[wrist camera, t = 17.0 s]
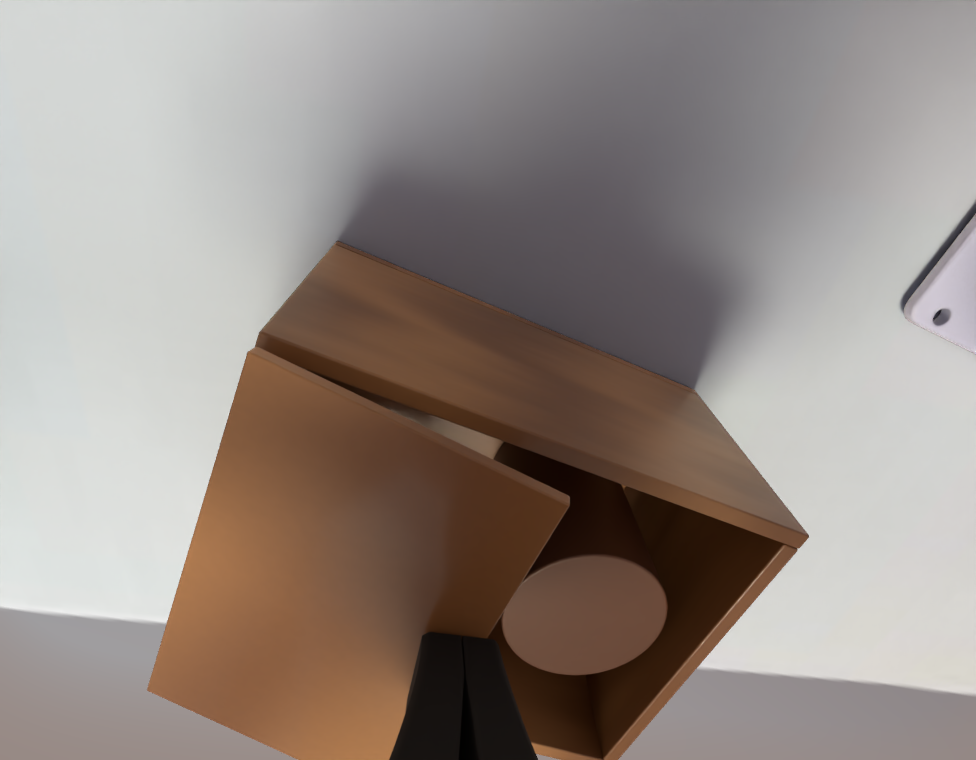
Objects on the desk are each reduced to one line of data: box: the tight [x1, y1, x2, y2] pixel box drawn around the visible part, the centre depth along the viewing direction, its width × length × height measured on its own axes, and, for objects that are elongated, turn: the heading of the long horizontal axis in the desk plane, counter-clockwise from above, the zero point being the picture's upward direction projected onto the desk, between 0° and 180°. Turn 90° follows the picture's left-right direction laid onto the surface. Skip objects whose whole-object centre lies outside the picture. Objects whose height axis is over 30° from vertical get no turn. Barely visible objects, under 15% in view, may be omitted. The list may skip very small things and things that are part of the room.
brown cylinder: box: [494, 442, 668, 675], centre depth 17 cm, size 4×4×6 cm
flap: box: [147, 347, 570, 760], centre depth 11 cm, size 6×9×1 cm, turn 156°
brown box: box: [255, 241, 809, 760], centre depth 16 cm, size 12×9×7 cm
